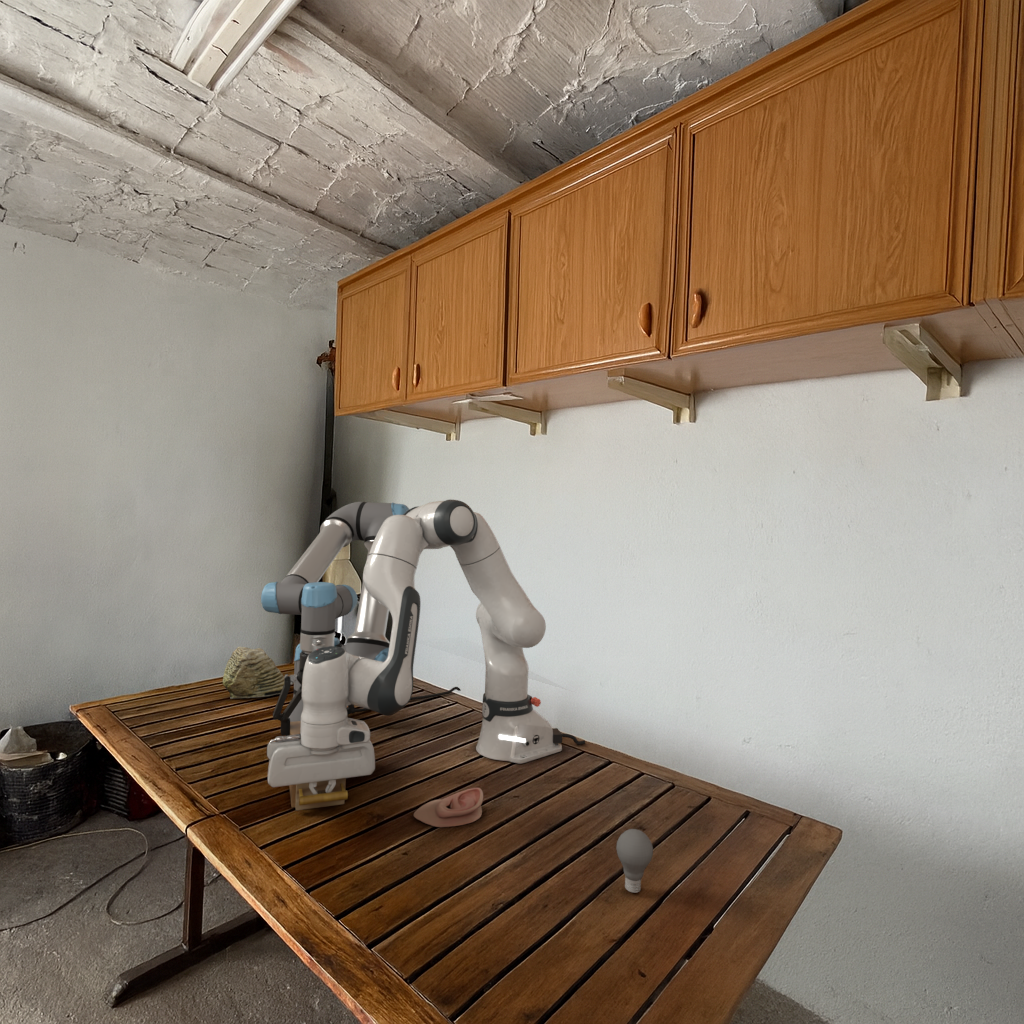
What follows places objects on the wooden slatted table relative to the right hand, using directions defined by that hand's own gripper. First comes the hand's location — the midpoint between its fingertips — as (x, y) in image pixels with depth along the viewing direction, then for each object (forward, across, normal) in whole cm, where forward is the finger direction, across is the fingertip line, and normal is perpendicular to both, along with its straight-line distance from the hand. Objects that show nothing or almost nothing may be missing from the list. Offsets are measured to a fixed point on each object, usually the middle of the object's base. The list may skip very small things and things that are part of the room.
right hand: (321, 801), depth 125 cm
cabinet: (+4, 0, +16) cm, 17 cm away
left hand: (-2, 0, +22) cm, 23 cm away
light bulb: (+3, +46, -40) cm, 61 cm away
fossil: (+4, -11, +84) cm, 85 cm away
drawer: (+3, 0, +9) cm, 10 cm away
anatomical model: (+4, +24, -6) cm, 25 cm away
